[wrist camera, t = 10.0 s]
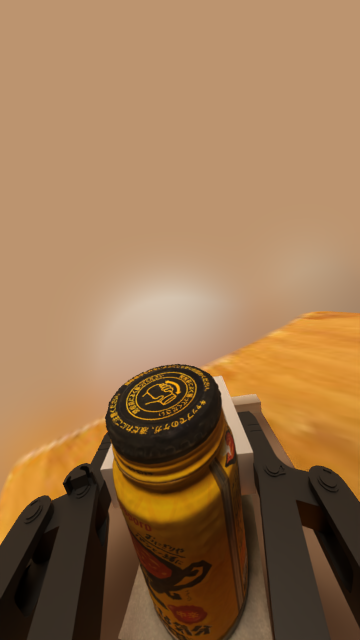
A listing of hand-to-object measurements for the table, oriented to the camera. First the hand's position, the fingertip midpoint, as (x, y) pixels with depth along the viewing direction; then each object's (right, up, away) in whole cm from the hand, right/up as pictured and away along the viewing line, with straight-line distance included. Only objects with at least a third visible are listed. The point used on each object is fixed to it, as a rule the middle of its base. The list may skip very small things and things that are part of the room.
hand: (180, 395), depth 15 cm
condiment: (+1, -8, -3) cm, 9 cm away
